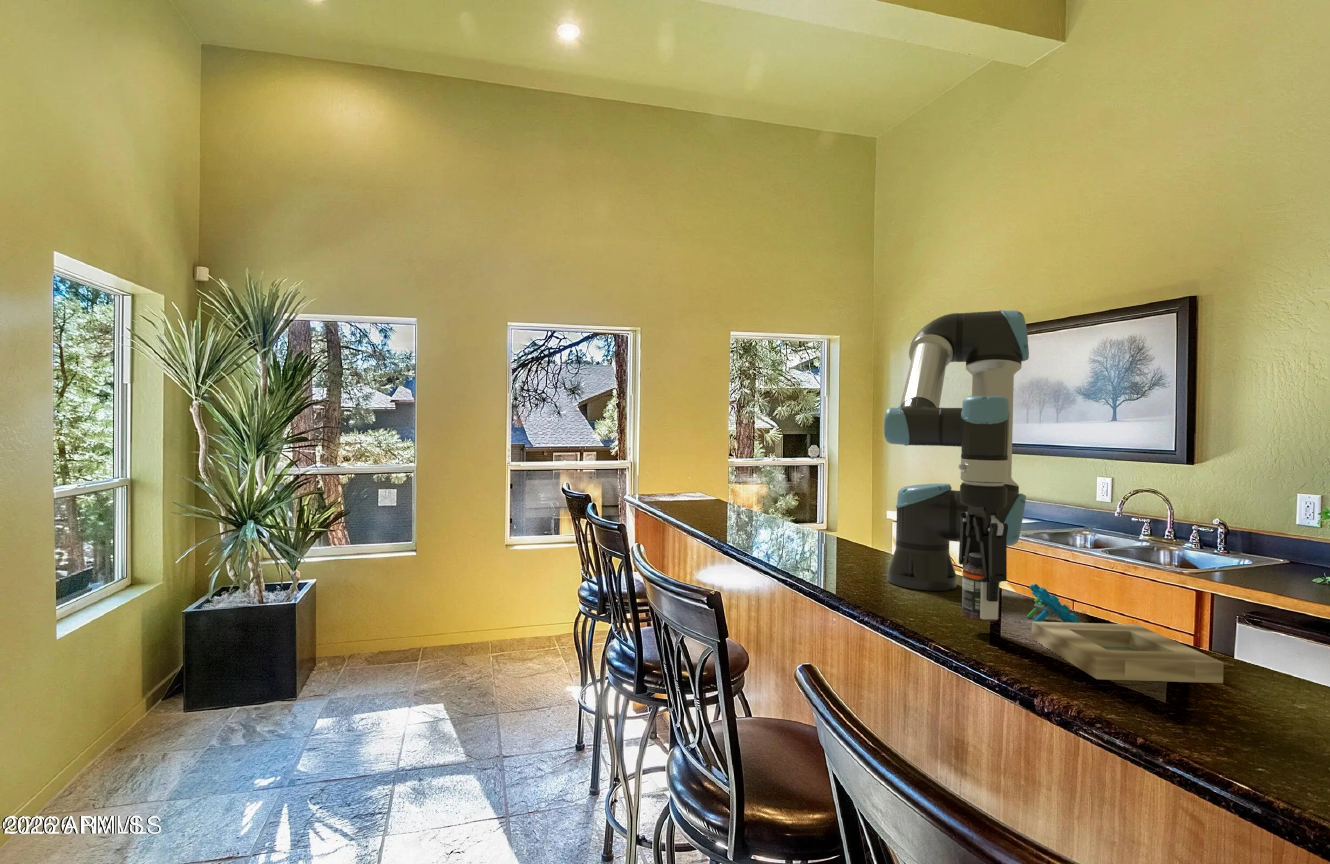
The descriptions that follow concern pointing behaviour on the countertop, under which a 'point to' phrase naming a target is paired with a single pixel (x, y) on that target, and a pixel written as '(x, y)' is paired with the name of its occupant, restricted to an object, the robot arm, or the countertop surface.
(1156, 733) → the countertop surface
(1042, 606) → the gear
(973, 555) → the supplement bottle
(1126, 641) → the socket holder
